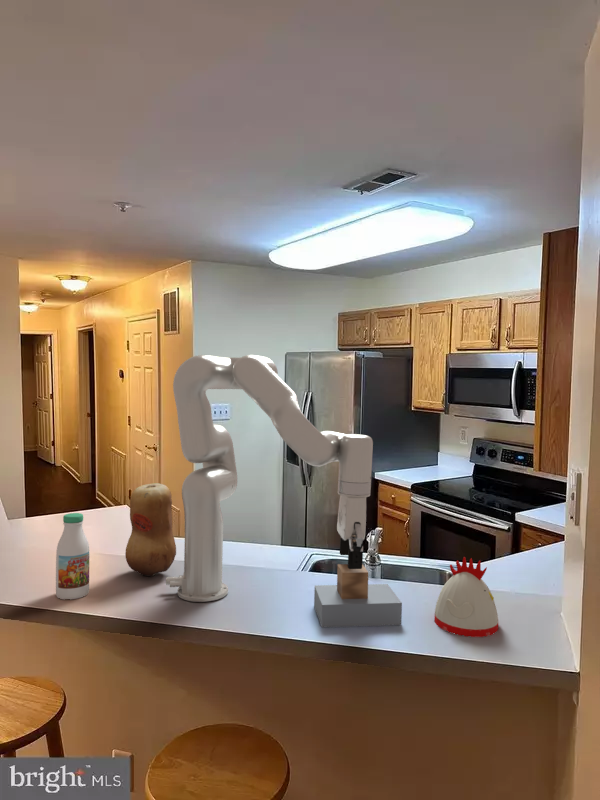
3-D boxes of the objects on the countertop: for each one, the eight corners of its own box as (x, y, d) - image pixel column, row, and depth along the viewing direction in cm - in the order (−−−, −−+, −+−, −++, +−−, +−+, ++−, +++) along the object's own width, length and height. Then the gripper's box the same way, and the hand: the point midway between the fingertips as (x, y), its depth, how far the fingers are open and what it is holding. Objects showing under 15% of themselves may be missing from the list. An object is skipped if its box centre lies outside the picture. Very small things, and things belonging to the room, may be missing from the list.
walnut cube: (341, 599, 128) (342, 572, 128) (337, 589, 134) (337, 564, 134) (367, 598, 129) (368, 572, 129) (361, 589, 135) (362, 563, 135)
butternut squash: (114, 579, 152) (116, 486, 151) (141, 564, 165) (142, 479, 164) (161, 585, 148) (162, 490, 148) (185, 569, 161) (186, 482, 161)
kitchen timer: (489, 643, 119) (491, 572, 118) (425, 627, 126) (427, 560, 126) (504, 620, 131) (506, 555, 130) (445, 607, 138) (447, 545, 138)
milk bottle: (48, 597, 139) (49, 516, 138) (72, 587, 146) (72, 509, 145) (73, 602, 136) (73, 519, 135) (95, 591, 143) (96, 513, 142)
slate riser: (321, 627, 125) (322, 604, 125) (314, 606, 137) (314, 585, 136) (401, 625, 127) (401, 602, 127) (387, 604, 139) (387, 584, 138)
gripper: (331, 480, 139) (328, 549, 140) (345, 495, 122) (341, 574, 122) (361, 481, 140) (358, 550, 140) (379, 496, 123) (375, 574, 123)
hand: (350, 561), depth 131 cm, fingers open, 9 cm apart
